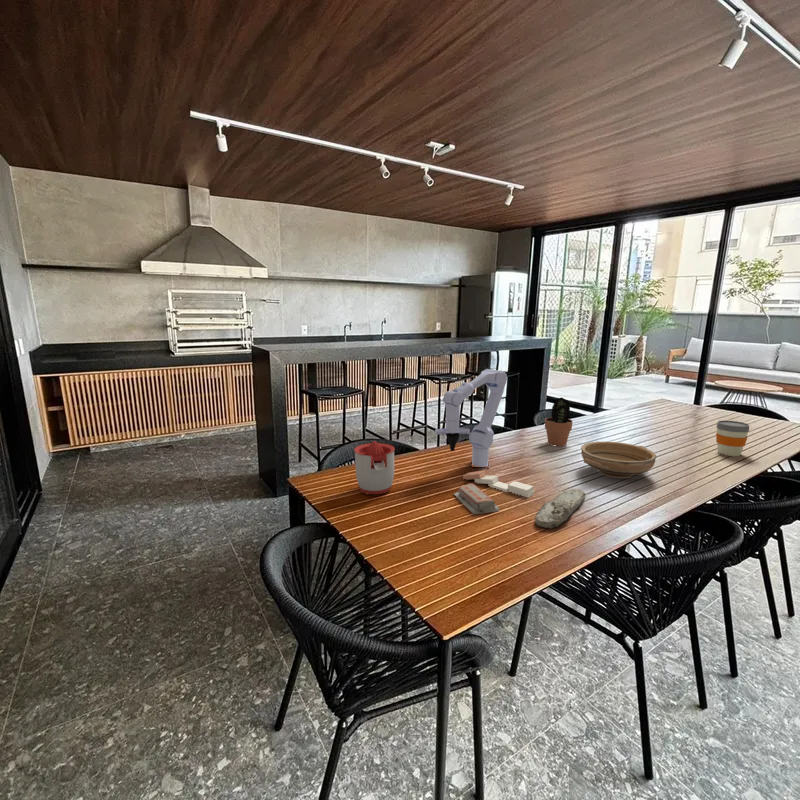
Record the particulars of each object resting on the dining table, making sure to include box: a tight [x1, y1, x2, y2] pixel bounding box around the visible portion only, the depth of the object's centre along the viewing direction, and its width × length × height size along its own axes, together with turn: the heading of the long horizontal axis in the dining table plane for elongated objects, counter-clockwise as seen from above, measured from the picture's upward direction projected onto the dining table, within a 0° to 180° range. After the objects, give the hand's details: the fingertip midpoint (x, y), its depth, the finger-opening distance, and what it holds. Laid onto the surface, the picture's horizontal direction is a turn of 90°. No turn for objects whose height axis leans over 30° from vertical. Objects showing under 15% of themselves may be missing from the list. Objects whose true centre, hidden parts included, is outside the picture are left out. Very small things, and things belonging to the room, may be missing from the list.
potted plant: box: [544, 397, 573, 447], centre depth 224 cm, size 14×14×25 cm
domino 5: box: [508, 489, 535, 498], centre depth 164 cm, size 2×5×8 cm
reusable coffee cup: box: [715, 420, 750, 457], centre depth 207 cm, size 12×13×15 cm
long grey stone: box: [534, 488, 586, 529], centre depth 149 cm, size 35×5×10 cm
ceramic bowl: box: [580, 441, 657, 479], centre depth 183 cm, size 37×29×10 cm
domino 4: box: [507, 480, 534, 495], centre depth 164 cm, size 2×5×8 cm
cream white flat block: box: [474, 475, 499, 485], centre depth 174 cm, size 2×5×8 cm
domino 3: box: [487, 480, 509, 493], centre depth 170 cm, size 2×5×8 cm
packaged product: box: [453, 483, 500, 516], centre depth 156 cm, size 18×5×10 cm
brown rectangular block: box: [462, 470, 487, 481], centre depth 177 cm, size 2×5×8 cm
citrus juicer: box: [353, 440, 396, 495], centre depth 166 cm, size 16×17×20 cm
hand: (452, 450), depth 184 cm, fingers closed
